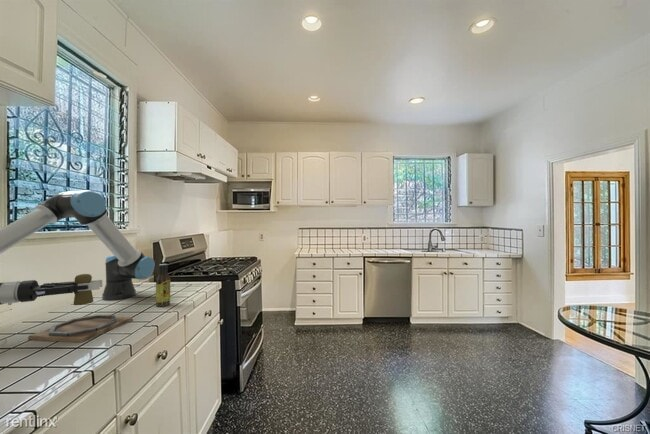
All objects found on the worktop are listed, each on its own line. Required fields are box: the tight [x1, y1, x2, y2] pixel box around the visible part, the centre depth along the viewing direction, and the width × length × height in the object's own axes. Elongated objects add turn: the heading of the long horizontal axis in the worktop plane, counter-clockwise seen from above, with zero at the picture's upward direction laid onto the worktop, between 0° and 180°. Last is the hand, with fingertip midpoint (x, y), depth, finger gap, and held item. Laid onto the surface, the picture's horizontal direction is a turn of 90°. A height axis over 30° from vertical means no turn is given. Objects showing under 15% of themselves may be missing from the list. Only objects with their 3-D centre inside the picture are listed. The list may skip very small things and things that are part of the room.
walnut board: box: [27, 314, 133, 343], centre depth 114 cm, size 22×22×1 cm
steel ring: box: [49, 314, 116, 336], centre depth 114 cm, size 19×19×1 cm
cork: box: [73, 273, 94, 306], centre depth 114 cm, size 6×6×11 cm
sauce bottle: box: [155, 263, 171, 307], centre depth 145 cm, size 6×6×20 cm
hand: (100, 284), depth 117 cm, fingers closed on cork, 4 cm apart
